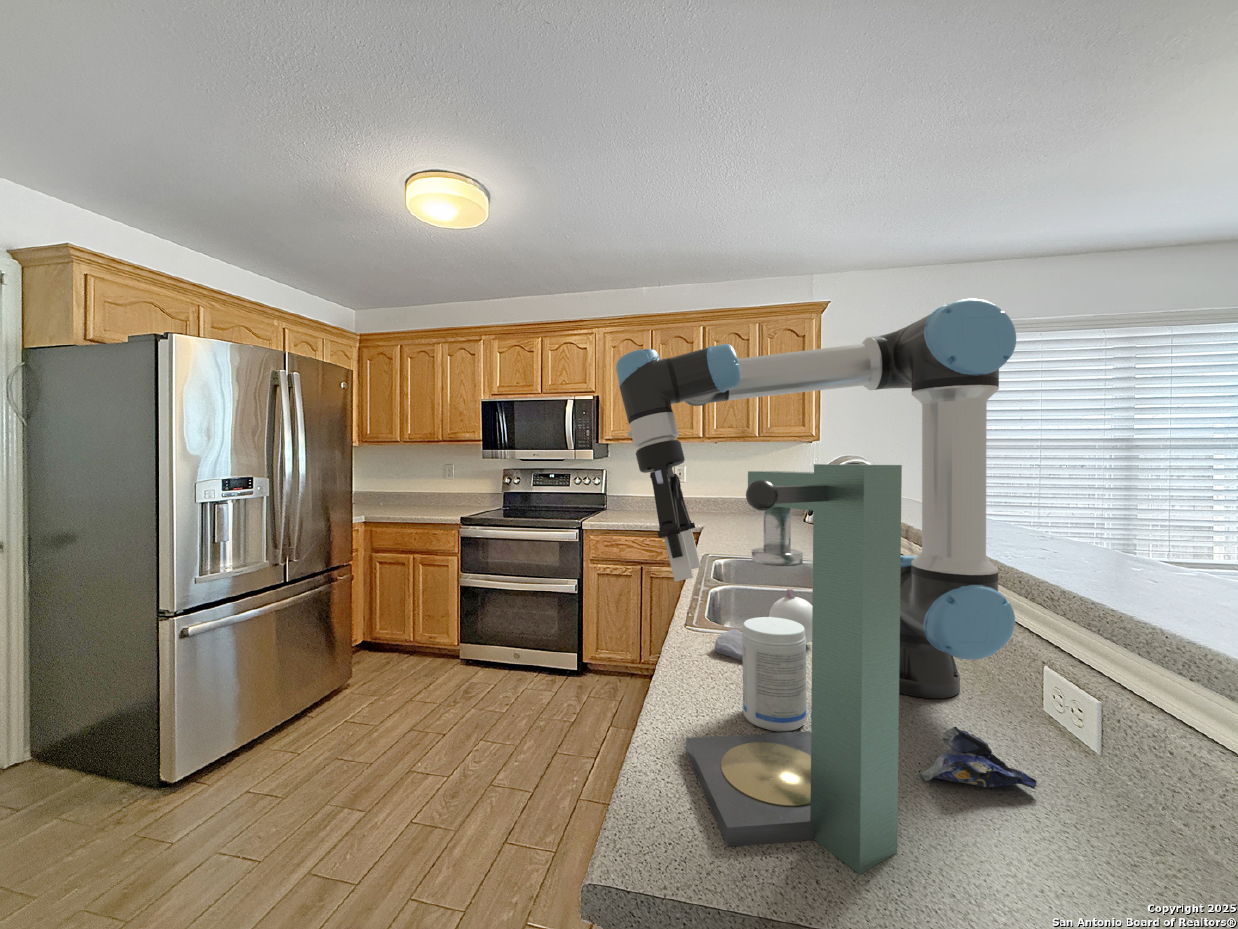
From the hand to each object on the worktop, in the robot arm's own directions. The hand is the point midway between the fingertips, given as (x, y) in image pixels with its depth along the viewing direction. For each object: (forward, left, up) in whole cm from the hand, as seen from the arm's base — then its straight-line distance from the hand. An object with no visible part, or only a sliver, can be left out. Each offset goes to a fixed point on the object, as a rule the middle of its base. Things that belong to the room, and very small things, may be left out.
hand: (688, 574), depth 84 cm
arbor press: (-6, +22, -22) cm, 32 cm away
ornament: (-31, -29, -23) cm, 48 cm away
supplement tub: (-13, +3, -23) cm, 26 cm away
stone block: (-18, -25, -23) cm, 38 cm away
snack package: (-32, +20, -23) cm, 44 cm away
